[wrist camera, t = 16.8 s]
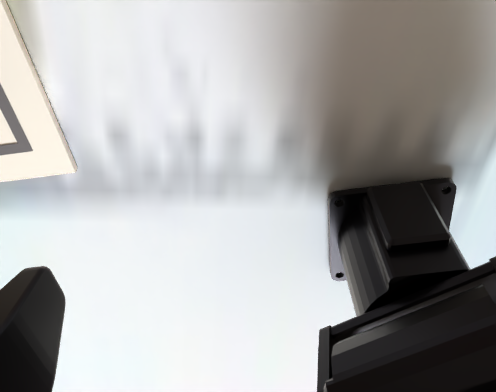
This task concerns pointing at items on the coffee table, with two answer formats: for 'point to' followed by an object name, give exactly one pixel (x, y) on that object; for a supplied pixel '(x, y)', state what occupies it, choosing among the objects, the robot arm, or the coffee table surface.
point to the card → (26, 114)
